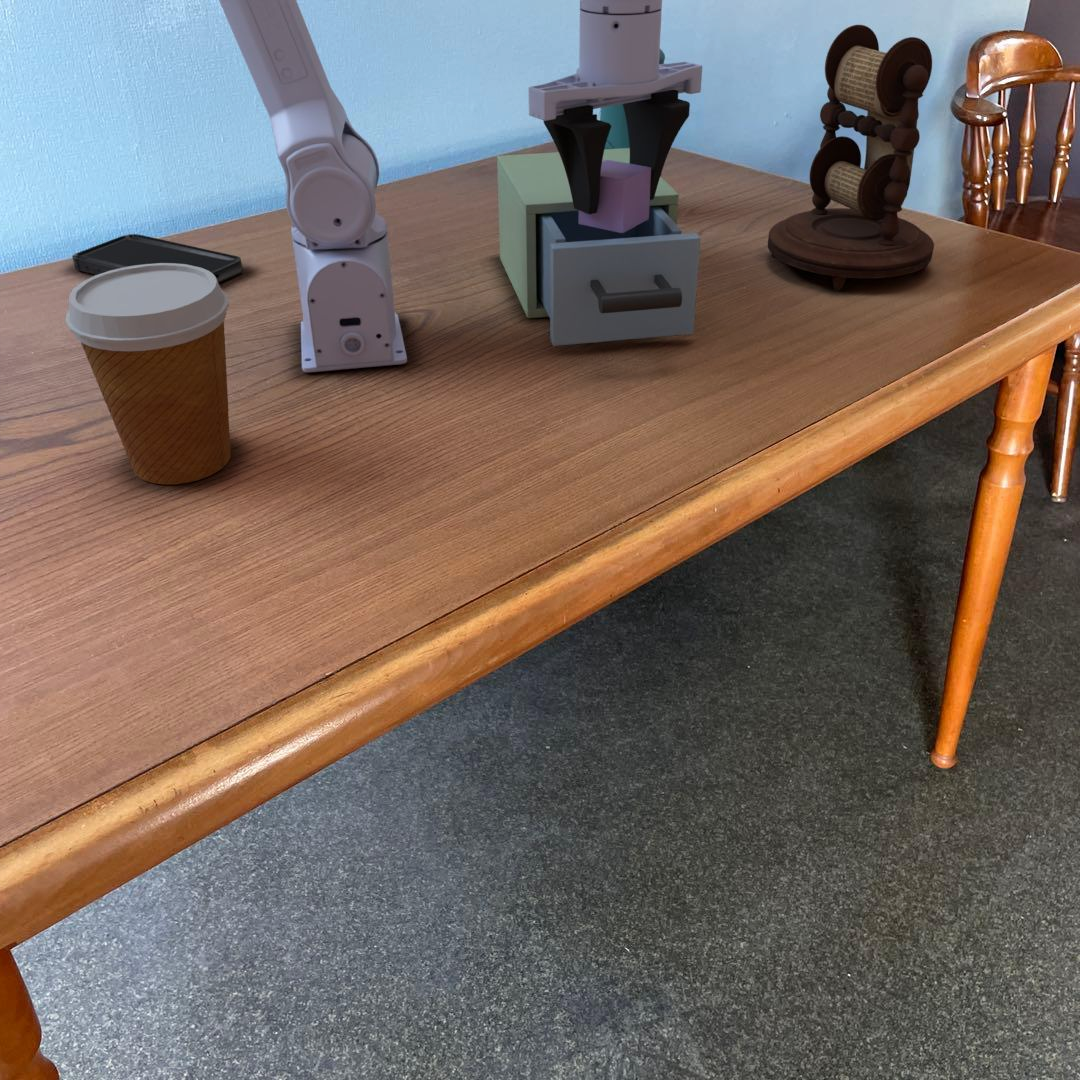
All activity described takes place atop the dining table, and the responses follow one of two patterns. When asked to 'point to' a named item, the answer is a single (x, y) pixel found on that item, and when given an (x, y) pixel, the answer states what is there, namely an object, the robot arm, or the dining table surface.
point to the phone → (153, 256)
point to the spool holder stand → (881, 187)
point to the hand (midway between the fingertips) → (614, 203)
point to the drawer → (615, 278)
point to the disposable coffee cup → (159, 365)
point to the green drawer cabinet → (543, 189)
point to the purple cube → (621, 197)
